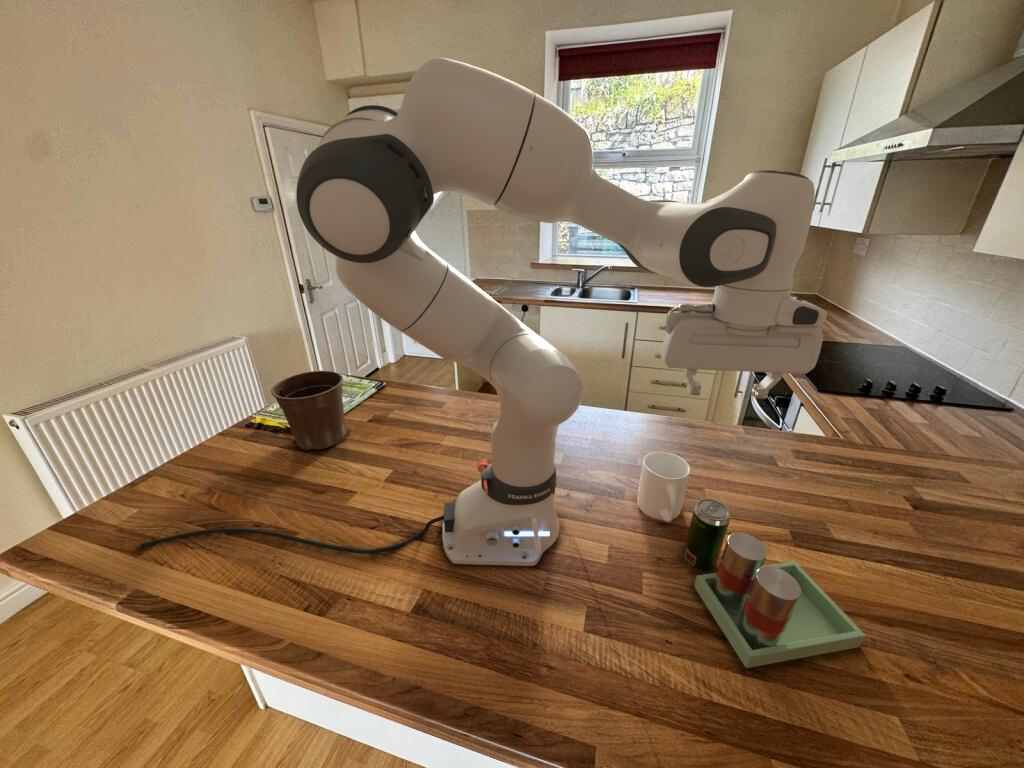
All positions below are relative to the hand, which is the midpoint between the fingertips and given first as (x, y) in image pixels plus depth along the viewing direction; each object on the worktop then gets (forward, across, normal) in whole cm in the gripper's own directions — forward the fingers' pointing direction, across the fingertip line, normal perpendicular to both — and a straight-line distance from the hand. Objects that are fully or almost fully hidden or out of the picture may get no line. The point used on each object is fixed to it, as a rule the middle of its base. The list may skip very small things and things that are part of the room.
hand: (725, 395), depth 61 cm
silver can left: (+30, +3, -12) cm, 32 cm away
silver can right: (+30, +5, -18) cm, 35 cm away
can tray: (+31, +8, -13) cm, 34 cm away
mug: (+31, -4, +7) cm, 32 cm away
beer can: (+31, +1, -4) cm, 31 cm away
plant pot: (+30, -87, +24) cm, 95 cm away
